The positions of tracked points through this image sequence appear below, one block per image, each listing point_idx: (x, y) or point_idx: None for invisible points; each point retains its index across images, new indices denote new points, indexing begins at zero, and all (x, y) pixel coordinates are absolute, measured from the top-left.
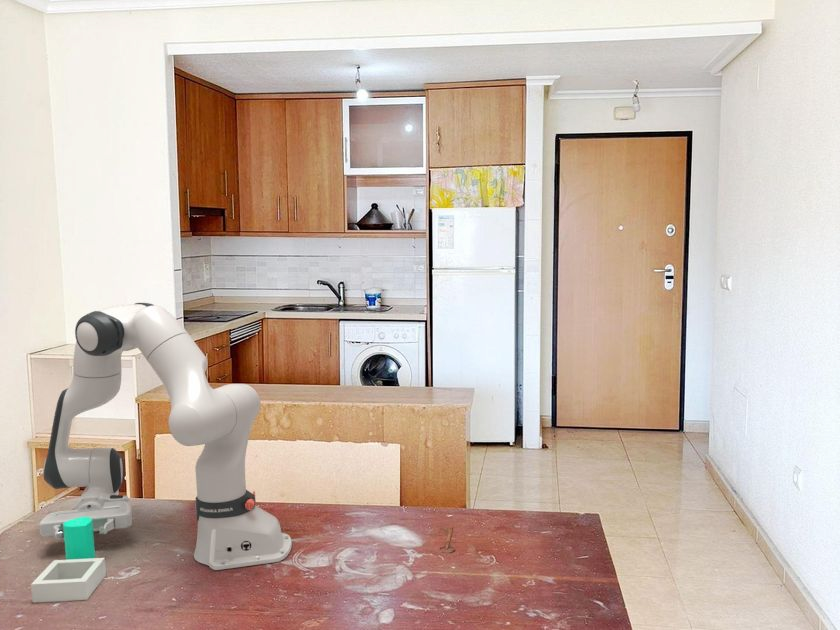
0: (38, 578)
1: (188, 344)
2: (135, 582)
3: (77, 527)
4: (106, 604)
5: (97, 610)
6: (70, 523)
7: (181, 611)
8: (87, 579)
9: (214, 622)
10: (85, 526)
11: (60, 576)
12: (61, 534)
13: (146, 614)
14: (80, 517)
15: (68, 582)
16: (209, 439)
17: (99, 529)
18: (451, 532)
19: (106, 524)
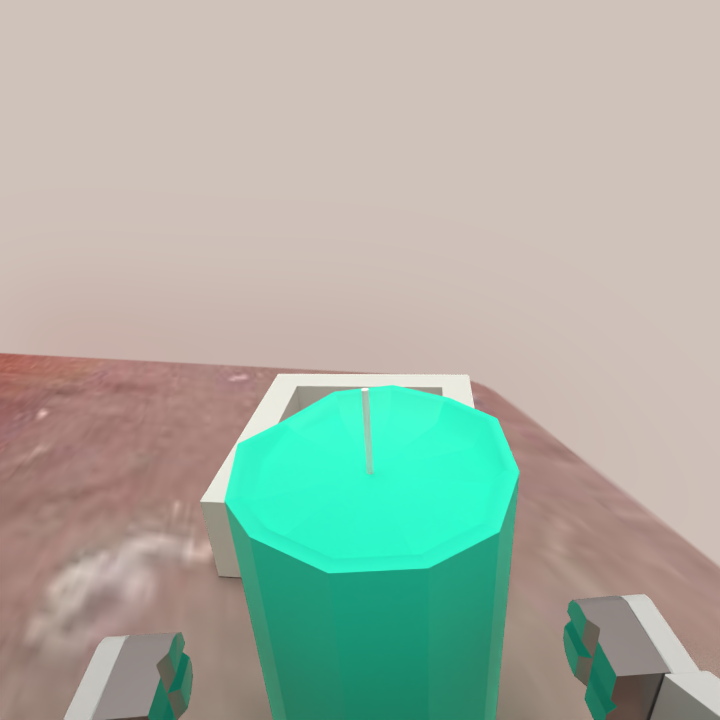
0: (463, 396)
1: None
2: (110, 499)
3: (342, 398)
4: (227, 411)
5: (252, 394)
6: (453, 484)
7: (57, 379)
8: (273, 384)
9: (20, 354)
10: (283, 426)
11: None
12: (570, 607)
13: (137, 377)
14: (376, 561)
15: (335, 374)
16: None
17: (178, 633)
18: None
19: (70, 712)
